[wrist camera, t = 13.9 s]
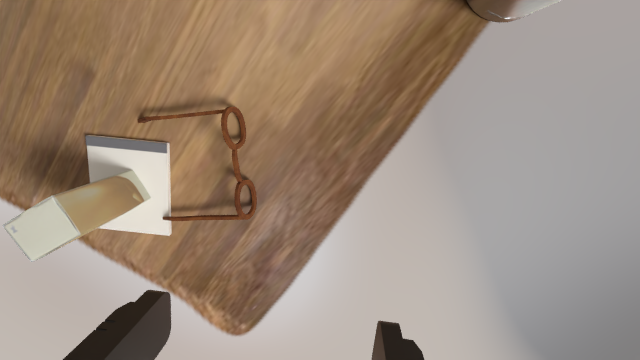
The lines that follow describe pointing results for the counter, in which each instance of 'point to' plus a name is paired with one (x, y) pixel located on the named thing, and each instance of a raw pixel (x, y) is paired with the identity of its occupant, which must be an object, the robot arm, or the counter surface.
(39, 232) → the skincare box
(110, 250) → the counter surface
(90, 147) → the board
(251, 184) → the glasses
